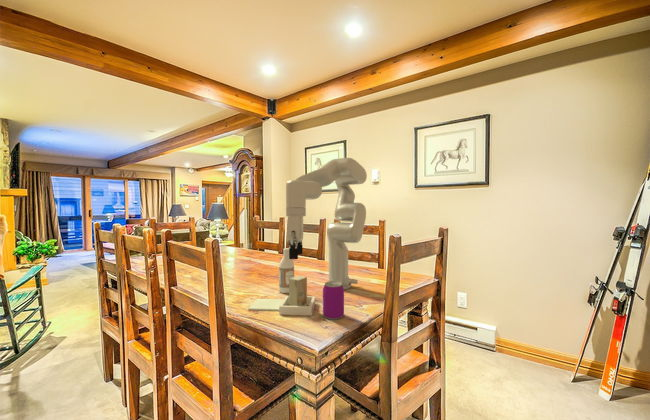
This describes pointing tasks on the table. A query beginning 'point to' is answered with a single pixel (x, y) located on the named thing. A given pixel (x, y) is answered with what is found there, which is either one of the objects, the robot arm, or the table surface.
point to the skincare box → (298, 291)
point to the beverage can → (333, 300)
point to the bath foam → (285, 271)
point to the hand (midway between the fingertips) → (296, 256)
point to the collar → (297, 307)
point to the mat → (266, 304)
